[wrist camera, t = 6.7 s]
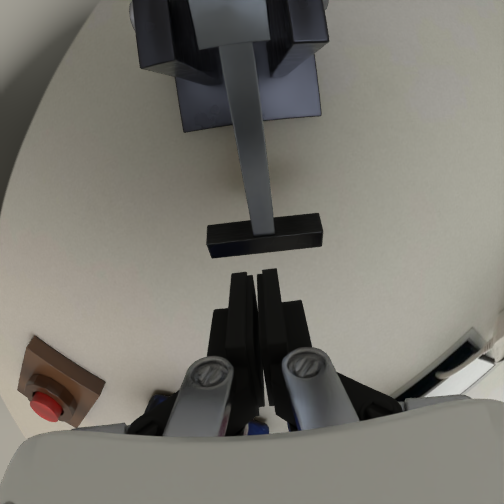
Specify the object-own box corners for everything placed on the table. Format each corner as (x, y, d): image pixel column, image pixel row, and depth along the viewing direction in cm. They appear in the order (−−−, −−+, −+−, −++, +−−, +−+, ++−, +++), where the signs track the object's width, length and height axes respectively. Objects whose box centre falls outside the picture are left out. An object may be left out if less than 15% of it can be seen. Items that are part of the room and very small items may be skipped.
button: (59, 415, 31) (55, 425, 30) (33, 398, 30) (28, 408, 29) (65, 404, 30) (60, 415, 28) (37, 386, 29) (31, 396, 27)
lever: (316, 220, 18) (323, 255, 17) (212, 232, 19) (211, 267, 17) (312, -47, 7) (330, -46, 6) (136, -21, 7) (114, -13, 6)
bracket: (318, 115, 20) (407, 141, 8) (187, 131, 21) (94, 180, 9) (299, -17, 16) (350, -131, 4) (168, 0, 16) (71, -87, 4)
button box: (81, 417, 37) (72, 438, 33) (23, 379, 34) (11, 399, 31) (105, 382, 33) (94, 407, 29) (34, 335, 30) (18, 357, 26)
